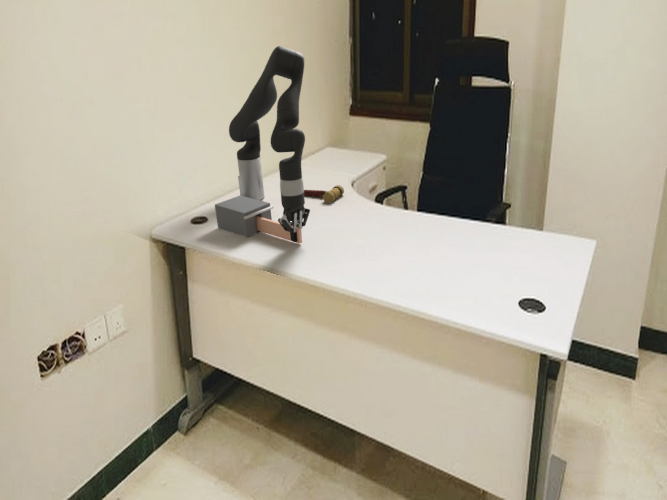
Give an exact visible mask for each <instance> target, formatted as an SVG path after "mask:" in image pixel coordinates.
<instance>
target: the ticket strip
mask: <svg viewBox="0 0 667 500" xmlns="http://www.w3.org/2000/svg"><path fill="white" fill-rule="evenodd" d="M255 220H256V229H257V231H261V232H260V233H264V234H267V235H270V236H274V237H276V238H277V237H278V238H281V239H283V240H286V241H287V240H288V241H291V242H293V241H292V240H291V237H290V232H288V231H285V230H284V228H283V227H282V226H281V224H280V223H279V222H278V220H277V221H276V220H273V219H272V220H270V219H266V218H263V217H259V216H256V215H255ZM292 228H293V226H292ZM296 232H297V242H295V243H297V244H302V243H303V238H302V237H303V236H302V229H301V228H298V227H296Z"/></svg>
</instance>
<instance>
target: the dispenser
mask: <svg viewBox="0 0 667 500" xmlns="http://www.w3.org/2000/svg"><path fill="white" fill-rule="evenodd" d="M214 209H215V215H216V216H215V217H216V222H217V229H220V230H223V231H226V232H228V233H233V234H235V235H238V236H242V237H245V238H250V237H252V236H254V235H257V234H259V233H262V232H261V231H257V229H256V220H255V215H256V216H259V217H263V218H266V219H270V220H273V219H272V212H271V211H272V210H273V209H274V205H271V203H270V202H267V201H264V200H256V199H252V198H248V197H245V196H241V195H237V196H234V197H232V198H229V199H226V200H224V201H222V202H218V203H216V204H214Z"/></svg>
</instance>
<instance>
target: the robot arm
mask: <svg viewBox="0 0 667 500" xmlns="http://www.w3.org/2000/svg"><path fill="white" fill-rule="evenodd" d="M304 71H305V57H304V55H303V54H302V53H301V52H299V51H296V50H293V49H292V48H287V47H285V46H283V45H282V46H281V45H279V46H276V47H275V48H273V50H272V52H271V54H270V55H269V58H268V59H267V62H266V65H265V67H264V69H263V71H262V73H261V75H260V77H259V79H258V80H257V81H256V83H255V85H254V86H253V88H252V89H251V91H250V93H249V95H248V97H247V98H246V100H245V102H244V103H243V105H242V107H241V108H240V109H239V111H238V112H237V114H235V116H234V117H233V118H232V119H231V121H230V123H229V127H228V134H229V137H230V139H231V140H232V141H233V142H235V143H244V145H243V146H242V147H241V148H239V149H237V151H236V157H237V159H236V161H237V167H238V176H237V179H238V185H239V188H238V189H239V193H240V195H241V196H245V197H248V198H252V199H256V200H260V201H262V200H263V199H265V188H264V178H263V171H262V169H263V168H262V162H261V149H262V148H261V132H260V131H261V130H260V125H259V122H258V121H259V120H260V119H262V118H263V117H265V116H266V115H268V113H269V112H270V111H271V110H272V108H273V107H274V105H275V104H276V102H277V105H276V122H275V125H274V128H273V129H272V133H271V135H270V146H271V148H272V149H273V151H274V152H275V153H292V152H293V155H292V156H290V157H287V158H283V159H281V160H280V161H279V162H278V170H279V179H280V180H279V191H280V199H281V200H280V201H281V206H282V207H283V212H282V216H281V218H280V217H279V218H278V219H277V222H279V223H280V224H281V226H282V227H283V228H284V230H285V231H288V232H290V237H291V240H292V241H291V242H293V243H296V242H297V232H296V227H298V228H301V230H302V229H303V227H305V226H306V224H307V222H308V218H309V215H310V212H311V209H310V208H306V207H305V204H306V203H305V202H306V201H305V200H306V199H305V196H304V190H305V187H304V180H303V172H302V160H303V159H302V157H303V154H304V149H305V142H306V136H305V135H306V134H305V133H304V132H303V130H301V129H300V128H297V127H298V126H299V123H300V98H301V91H302V86H303V85H302V84H303V77H304ZM275 76H279V77H282V78H285V79H287V80H291V81H290V82H291V83H290V85H289V86H288V88H286V89H285V90H284V92H283V93H282V94H281V95H280V96H279V97H278V91H277V87H276V84H275V81H274V77H275ZM278 98H279V99H278ZM277 99H278V100H277ZM240 195H239V196H240ZM292 226H293V228H292Z"/></svg>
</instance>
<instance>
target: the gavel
mask: <svg viewBox="0 0 667 500" xmlns="http://www.w3.org/2000/svg"><path fill="white" fill-rule="evenodd" d="M343 194H345V190H344V187H343V186H342V185H340V184H337V185H334V186H333V187H332V188H331V189H330V190H318V189H317V190H315V189H304V197H318V198H319V197H322V199H323V201H324V202H325V203H331V204H332V203H333V202H334V201H335V200H336V199H337V198H339V197H342V196H343Z"/></svg>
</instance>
